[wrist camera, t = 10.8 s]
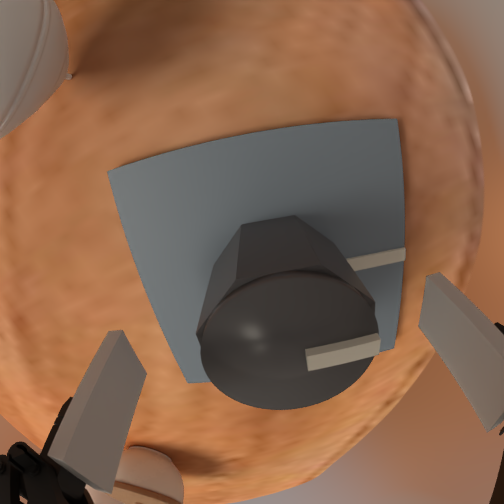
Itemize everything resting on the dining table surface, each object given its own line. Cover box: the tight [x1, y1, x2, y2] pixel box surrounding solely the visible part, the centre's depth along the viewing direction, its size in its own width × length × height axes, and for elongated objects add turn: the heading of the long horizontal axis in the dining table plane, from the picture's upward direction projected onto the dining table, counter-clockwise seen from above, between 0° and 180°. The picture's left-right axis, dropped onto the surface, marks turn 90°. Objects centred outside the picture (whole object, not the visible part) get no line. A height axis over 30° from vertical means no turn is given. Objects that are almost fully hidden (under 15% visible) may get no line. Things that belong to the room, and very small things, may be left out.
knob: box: [196, 215, 381, 410], centre depth 13 cm, size 7×7×7 cm
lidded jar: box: [104, 446, 184, 504], centre depth 23 cm, size 11×11×9 cm
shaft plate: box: [107, 119, 406, 383], centre depth 14 cm, size 16×16×6 cm
